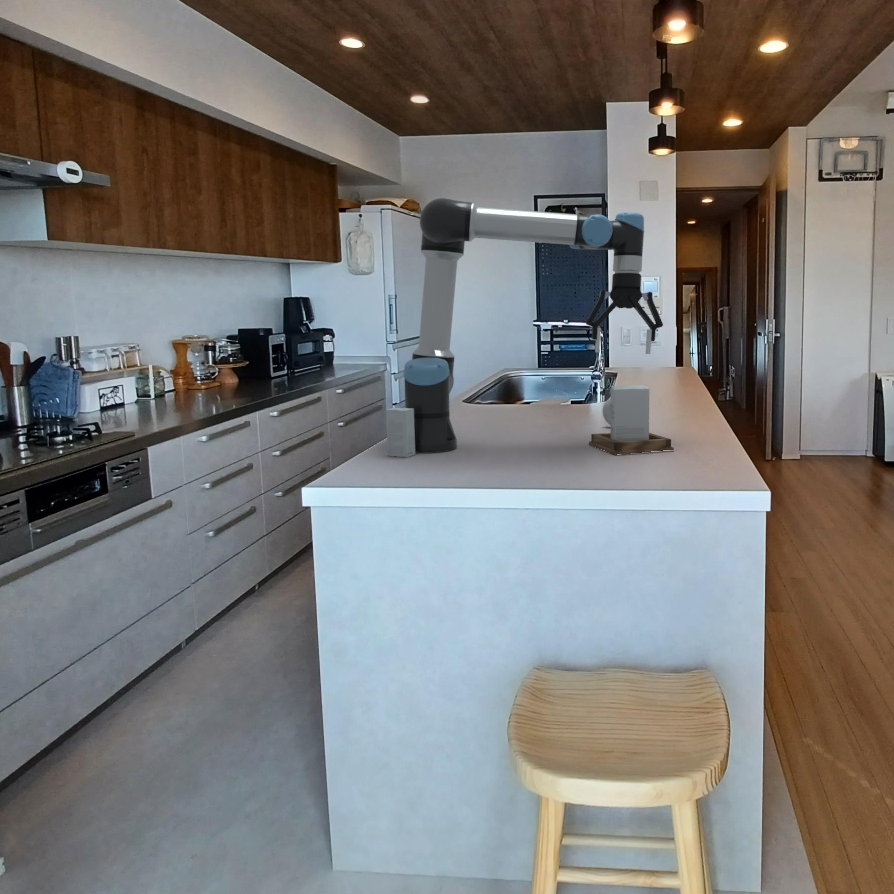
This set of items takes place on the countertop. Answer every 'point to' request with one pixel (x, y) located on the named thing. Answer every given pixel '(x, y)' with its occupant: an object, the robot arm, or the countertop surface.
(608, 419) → the donut
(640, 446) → the holder
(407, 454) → the skincare box
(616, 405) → the supplement box
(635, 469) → the countertop surface
